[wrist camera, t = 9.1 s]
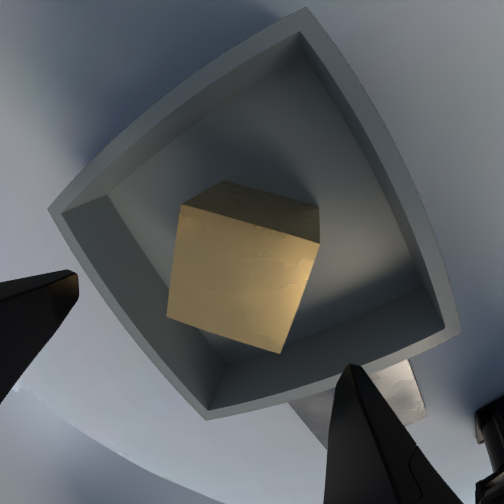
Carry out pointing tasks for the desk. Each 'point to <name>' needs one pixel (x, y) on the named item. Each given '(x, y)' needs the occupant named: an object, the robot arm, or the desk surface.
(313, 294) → the bin
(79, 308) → the desk surface
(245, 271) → the wooden block
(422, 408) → the metal ball pedestal
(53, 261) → the desk surface
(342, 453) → the robot arm
